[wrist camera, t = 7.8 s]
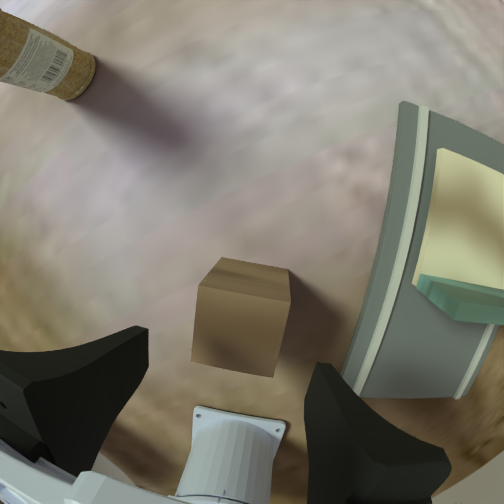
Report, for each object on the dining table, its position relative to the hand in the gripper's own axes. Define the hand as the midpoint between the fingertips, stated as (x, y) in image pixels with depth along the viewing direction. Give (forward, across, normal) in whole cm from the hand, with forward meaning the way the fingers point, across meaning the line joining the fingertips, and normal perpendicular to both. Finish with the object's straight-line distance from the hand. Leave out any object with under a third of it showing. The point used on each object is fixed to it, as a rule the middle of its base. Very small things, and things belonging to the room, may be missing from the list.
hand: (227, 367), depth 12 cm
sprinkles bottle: (+9, +17, -15) cm, 24 cm away
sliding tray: (+9, -15, -8) cm, 19 cm away
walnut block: (+9, 0, 0) cm, 9 cm away
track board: (+9, -15, -4) cm, 18 cm away
